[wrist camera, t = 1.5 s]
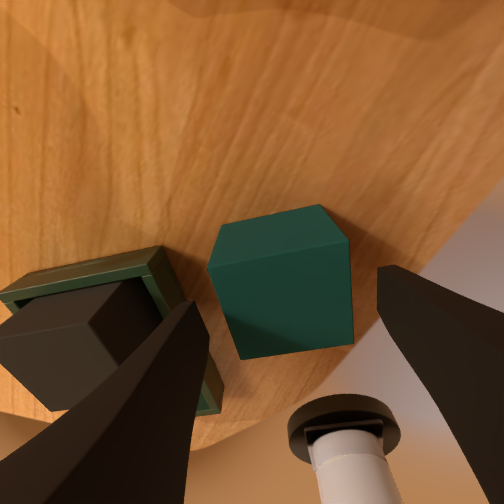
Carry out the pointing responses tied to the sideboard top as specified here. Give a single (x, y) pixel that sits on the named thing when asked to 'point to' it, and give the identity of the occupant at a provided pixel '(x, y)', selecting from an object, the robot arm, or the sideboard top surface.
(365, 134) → the sideboard top surface
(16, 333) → the dark brown block
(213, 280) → the teal green block
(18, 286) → the frame
